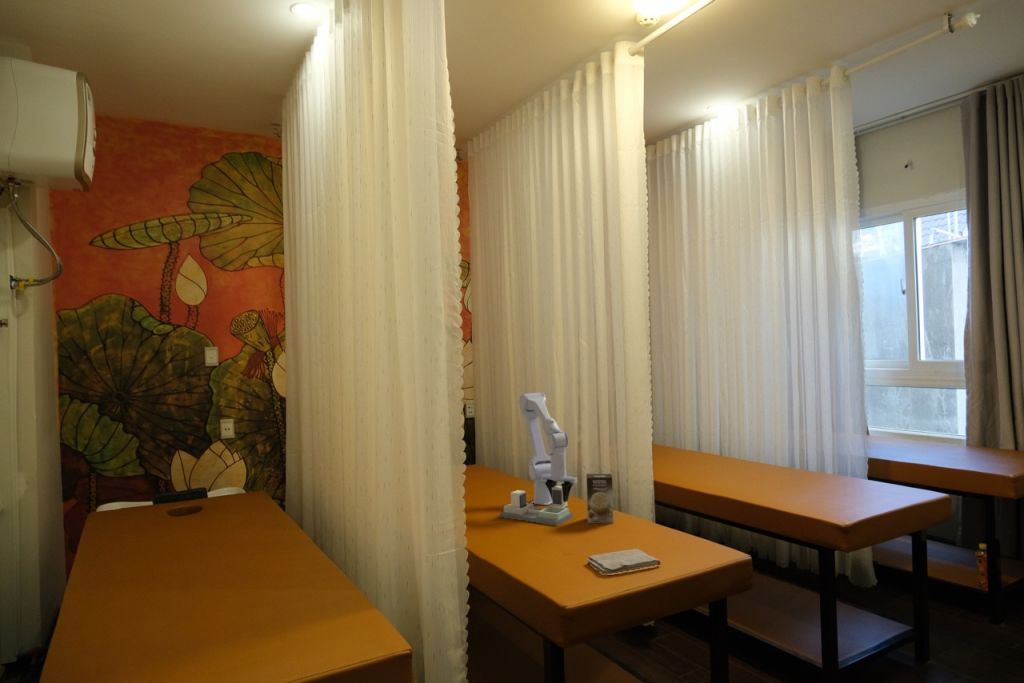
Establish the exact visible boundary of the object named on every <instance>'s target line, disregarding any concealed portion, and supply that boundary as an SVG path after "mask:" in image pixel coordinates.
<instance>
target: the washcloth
mask: <svg viewBox="0 0 1024 683" xmlns="http://www.w3.org/2000/svg"><path fill="white" fill-rule="evenodd" d="M587 562H588V563H590V564H591V565H592V566H593V567H594V568H596V569H597V570H598V571H599V572H601V573H602V574H604V575H607V574H612V573H618V572H623V571H629V570H635V569H640V568H644V567H650V566H655V565H660V566H661V564H662V563H661V560H660V559H658V558H656V557H654V556H652V555H648V554H647V553H646V552H645V551H642V550H640V549H638V548H632V549H626V550H617V551H613V552H612V551H611V552H605V553H600V554H594V555H589V556H588V557H587ZM588 563H587V564H588ZM598 571H597V572H598ZM599 572H598V573H599ZM602 574H601V575H602ZM604 575H603V576H604Z"/></svg>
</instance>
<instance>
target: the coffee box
mask: <svg viewBox="0 0 1024 683" xmlns="http://www.w3.org/2000/svg"><path fill="white" fill-rule="evenodd" d="M585 475H586V476H585V477H586V481H585V482H586V514H587V515H586V516H587V517H586V518H587V523H588V524H614V522H615V521H614V494H613V493H614V492H613V491H614V490H613V475H612V474H611V473H586V474H585Z"/></svg>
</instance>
